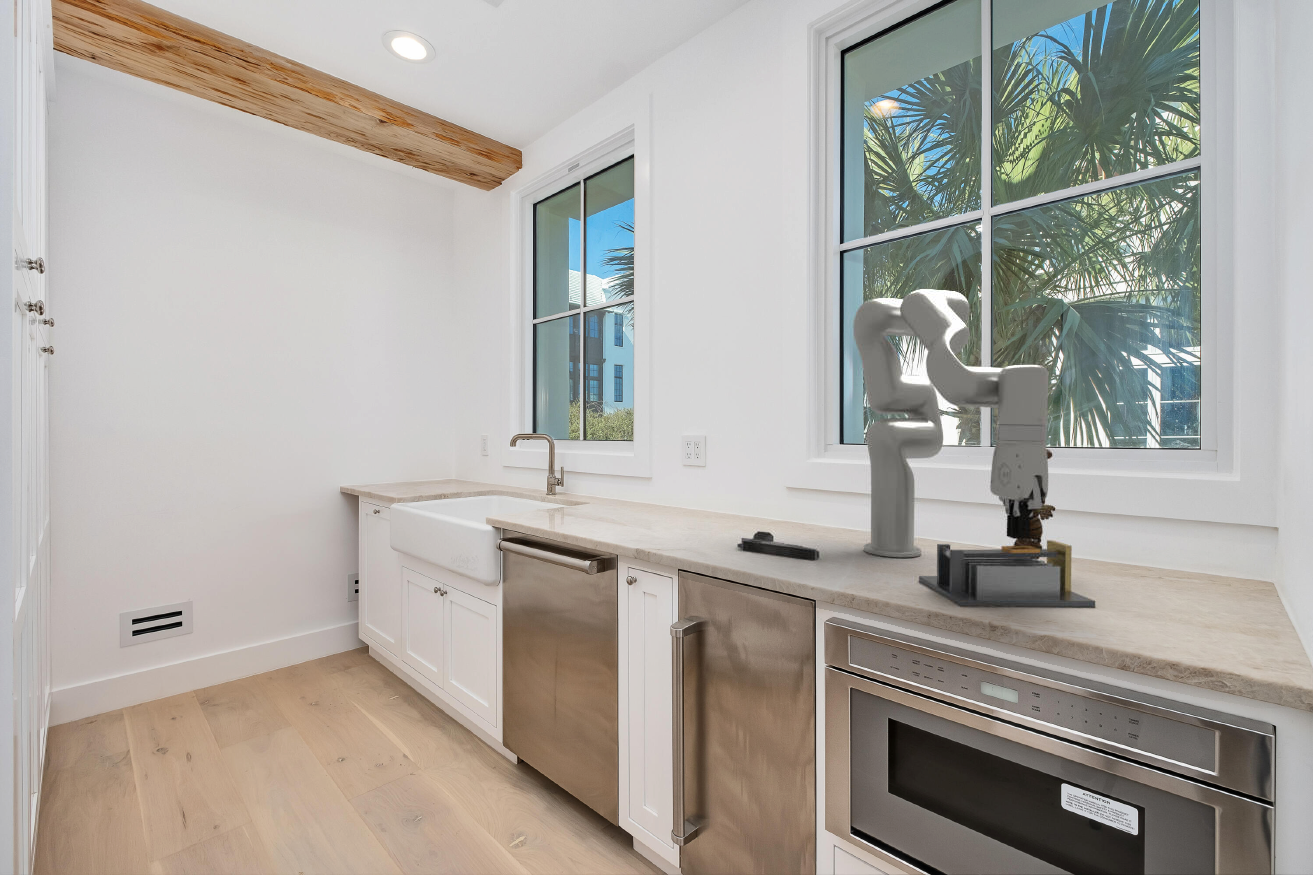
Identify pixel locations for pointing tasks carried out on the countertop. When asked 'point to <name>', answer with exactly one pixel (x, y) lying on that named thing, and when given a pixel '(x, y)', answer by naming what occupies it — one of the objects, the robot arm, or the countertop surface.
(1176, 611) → the countertop surface
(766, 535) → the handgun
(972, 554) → the dark grey lever
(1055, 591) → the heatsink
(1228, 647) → the countertop surface
